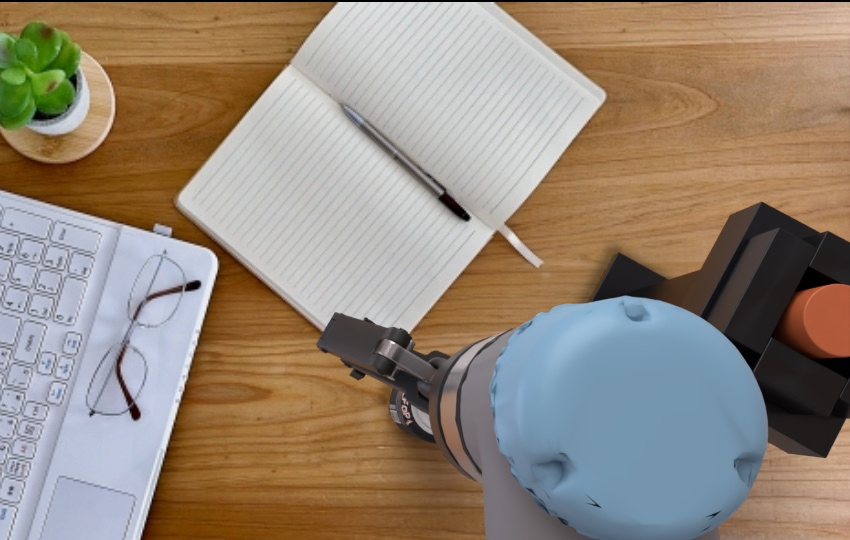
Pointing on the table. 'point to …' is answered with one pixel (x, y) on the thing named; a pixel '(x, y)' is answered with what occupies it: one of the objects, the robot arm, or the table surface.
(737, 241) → the button post
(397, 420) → the beverage can
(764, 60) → the table surface
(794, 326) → the button
